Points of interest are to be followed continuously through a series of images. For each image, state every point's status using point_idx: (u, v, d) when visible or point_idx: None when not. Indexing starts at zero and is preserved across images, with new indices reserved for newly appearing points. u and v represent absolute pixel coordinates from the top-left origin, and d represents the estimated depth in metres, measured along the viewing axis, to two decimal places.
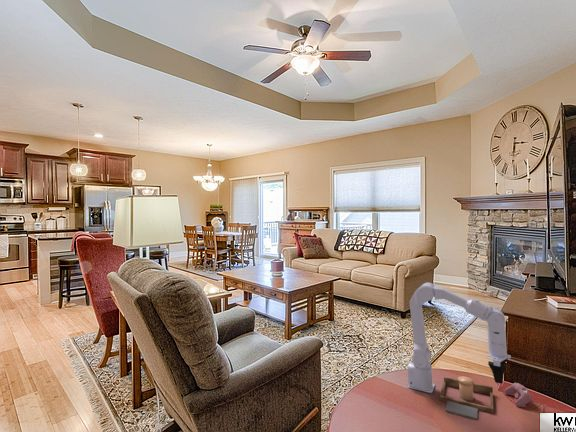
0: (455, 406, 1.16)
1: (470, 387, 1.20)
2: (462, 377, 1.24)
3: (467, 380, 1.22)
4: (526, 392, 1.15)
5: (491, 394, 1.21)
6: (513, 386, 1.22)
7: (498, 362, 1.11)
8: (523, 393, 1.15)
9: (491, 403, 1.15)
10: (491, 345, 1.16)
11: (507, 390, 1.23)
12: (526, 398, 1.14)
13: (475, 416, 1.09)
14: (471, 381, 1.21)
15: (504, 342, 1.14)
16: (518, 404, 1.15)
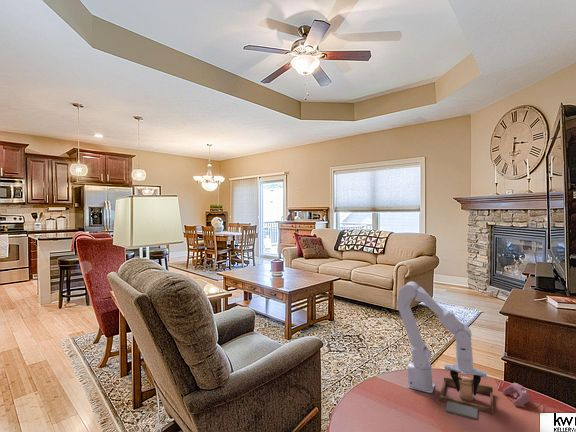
0: (455, 406, 1.16)
1: (470, 387, 1.20)
2: (462, 377, 1.24)
3: (467, 380, 1.22)
4: (525, 392, 1.15)
5: (491, 394, 1.21)
6: (512, 386, 1.22)
7: None
8: (522, 393, 1.15)
9: (491, 403, 1.15)
10: None
11: (506, 390, 1.23)
12: (525, 398, 1.14)
13: (475, 416, 1.09)
14: (471, 381, 1.21)
15: (470, 358, 1.20)
16: (517, 404, 1.15)
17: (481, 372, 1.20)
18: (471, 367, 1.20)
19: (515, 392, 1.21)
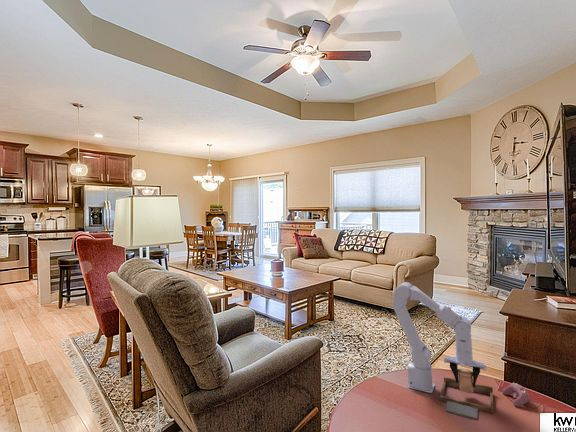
0: (455, 406, 1.16)
1: (470, 379, 1.20)
2: (461, 369, 1.24)
3: (466, 372, 1.22)
4: (524, 392, 1.16)
5: (491, 394, 1.21)
6: (511, 386, 1.22)
7: (444, 358, 1.26)
8: (521, 393, 1.15)
9: (491, 403, 1.15)
10: None
11: (505, 390, 1.23)
12: (524, 398, 1.14)
13: (475, 416, 1.09)
14: (470, 373, 1.21)
15: (470, 350, 1.20)
16: (516, 404, 1.15)
17: (480, 364, 1.20)
18: (470, 359, 1.20)
19: (514, 392, 1.21)
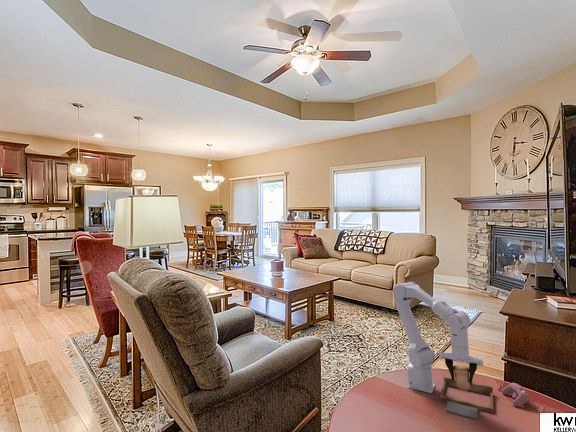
0: (455, 406, 1.16)
1: (466, 376, 1.15)
2: (457, 366, 1.18)
3: (463, 369, 1.16)
4: (523, 392, 1.16)
5: (491, 394, 1.21)
6: (511, 386, 1.22)
7: (439, 354, 1.20)
8: (520, 393, 1.15)
9: (491, 403, 1.15)
10: None
11: (505, 390, 1.23)
12: (523, 398, 1.14)
13: (475, 416, 1.09)
14: (467, 370, 1.15)
15: (462, 345, 1.14)
16: (516, 404, 1.15)
17: (477, 359, 1.14)
18: (467, 354, 1.14)
19: (514, 392, 1.21)
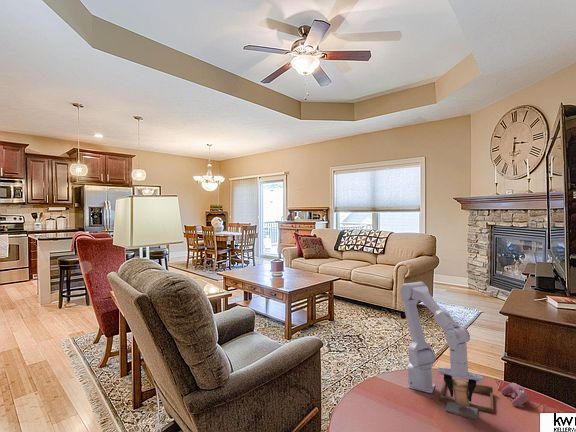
0: (455, 406, 1.16)
1: (465, 393, 1.12)
2: (456, 381, 1.16)
3: (462, 385, 1.13)
4: (523, 392, 1.16)
5: (491, 394, 1.21)
6: (510, 386, 1.22)
7: None
8: (520, 393, 1.16)
9: (491, 403, 1.15)
10: None
11: (504, 390, 1.23)
12: (523, 398, 1.14)
13: (475, 416, 1.09)
14: (466, 386, 1.12)
15: (460, 361, 1.12)
16: (515, 404, 1.15)
17: (477, 376, 1.11)
18: (466, 371, 1.12)
19: (513, 392, 1.21)
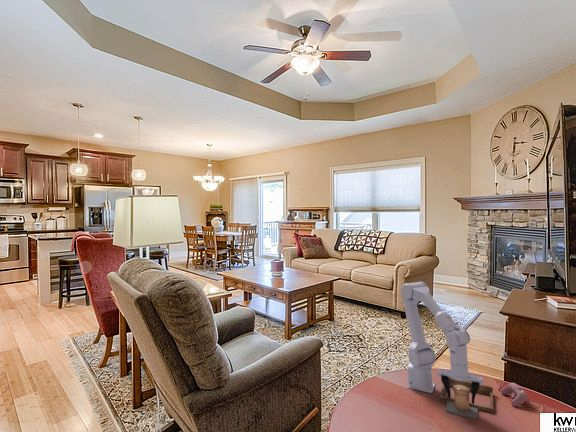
0: None
1: (466, 397, 1.12)
2: (458, 386, 1.16)
3: (463, 389, 1.14)
4: (522, 392, 1.16)
5: (491, 394, 1.21)
6: (509, 386, 1.22)
7: (438, 371, 1.18)
8: (519, 393, 1.16)
9: (491, 403, 1.15)
10: None
11: (503, 390, 1.23)
12: (522, 398, 1.14)
13: (475, 416, 1.09)
14: (467, 390, 1.13)
15: (460, 363, 1.12)
16: (514, 403, 1.15)
17: (477, 378, 1.11)
18: (466, 372, 1.12)
19: (512, 392, 1.21)
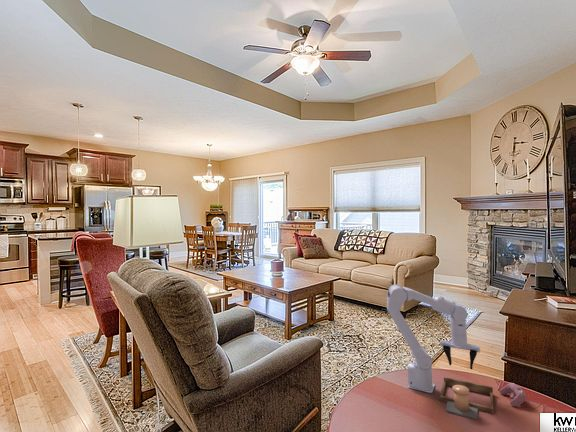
0: None
1: (466, 397, 1.12)
2: (457, 386, 1.16)
3: (462, 389, 1.14)
4: (521, 392, 1.16)
5: (491, 394, 1.21)
6: (508, 386, 1.22)
7: (440, 342, 1.33)
8: (518, 393, 1.16)
9: (491, 403, 1.15)
10: None
11: (502, 390, 1.23)
12: (521, 398, 1.14)
13: (475, 416, 1.09)
14: (466, 390, 1.13)
15: (466, 332, 1.27)
16: (513, 403, 1.15)
17: (474, 346, 1.26)
18: (465, 342, 1.27)
19: (511, 392, 1.21)
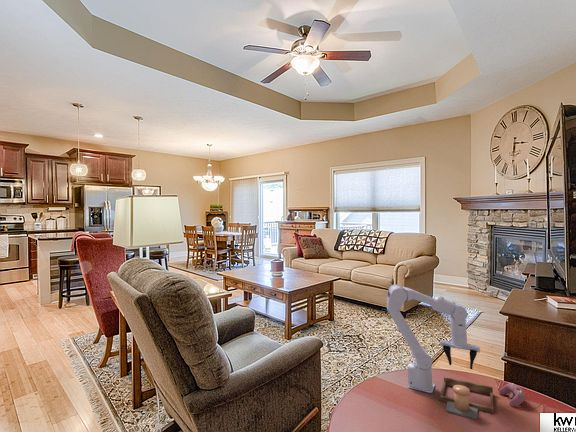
0: None
1: (466, 397, 1.12)
2: (458, 386, 1.16)
3: (463, 389, 1.14)
4: (520, 392, 1.16)
5: (491, 394, 1.21)
6: (508, 386, 1.22)
7: (440, 342, 1.33)
8: (517, 393, 1.16)
9: (491, 403, 1.15)
10: None
11: (502, 390, 1.23)
12: (520, 398, 1.14)
13: (475, 416, 1.09)
14: (467, 390, 1.13)
15: (466, 332, 1.27)
16: (513, 403, 1.15)
17: (474, 346, 1.26)
18: (465, 342, 1.27)
19: (511, 392, 1.21)
